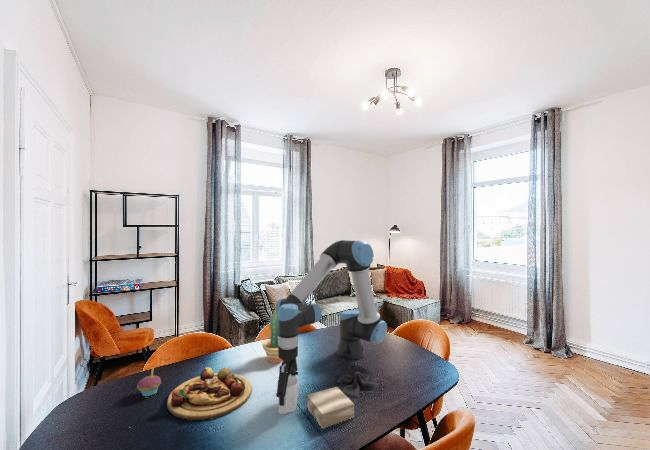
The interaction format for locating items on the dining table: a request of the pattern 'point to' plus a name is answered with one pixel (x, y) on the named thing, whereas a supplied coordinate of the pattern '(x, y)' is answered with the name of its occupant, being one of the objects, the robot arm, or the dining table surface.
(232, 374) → the wooden plate with food
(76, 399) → the dining table surface
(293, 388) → the white cup
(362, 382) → the cloth
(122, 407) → the dining table surface
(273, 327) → the potted cactus
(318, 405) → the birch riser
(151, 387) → the cupcake
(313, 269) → the robot arm
